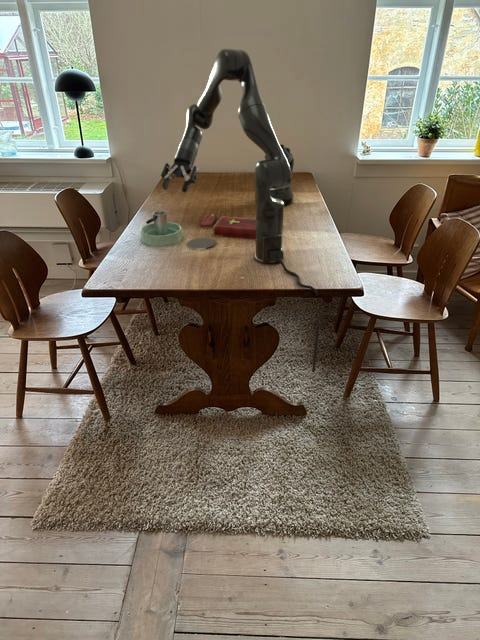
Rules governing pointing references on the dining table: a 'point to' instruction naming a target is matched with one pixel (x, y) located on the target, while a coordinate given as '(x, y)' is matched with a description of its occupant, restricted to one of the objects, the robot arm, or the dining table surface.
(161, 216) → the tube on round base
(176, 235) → the bowl
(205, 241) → the coaster
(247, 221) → the hardcover book
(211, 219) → the popsicle
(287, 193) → the beer stein
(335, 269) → the dining table surface
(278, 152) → the robot arm
